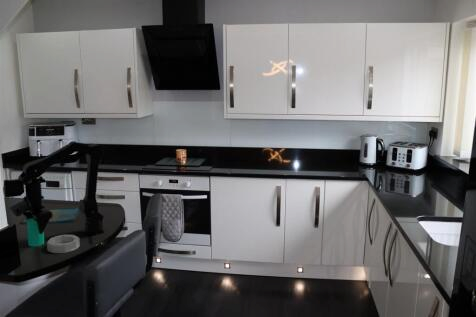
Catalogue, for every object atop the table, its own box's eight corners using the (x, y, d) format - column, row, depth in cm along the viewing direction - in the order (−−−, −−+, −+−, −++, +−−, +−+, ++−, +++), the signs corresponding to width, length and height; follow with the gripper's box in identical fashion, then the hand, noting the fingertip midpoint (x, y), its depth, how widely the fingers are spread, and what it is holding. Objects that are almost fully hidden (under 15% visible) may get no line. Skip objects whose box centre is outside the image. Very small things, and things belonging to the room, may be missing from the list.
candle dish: (70, 238, 168) (70, 232, 167) (85, 246, 160) (85, 239, 160) (41, 246, 159) (41, 239, 158) (56, 255, 151) (55, 248, 151)
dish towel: (75, 223, 188) (74, 218, 188) (20, 225, 182) (20, 220, 182) (80, 211, 204) (79, 207, 204) (30, 213, 199) (30, 209, 198)
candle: (26, 247, 158) (24, 218, 156) (29, 241, 164) (28, 213, 162) (43, 245, 160) (41, 217, 158) (45, 240, 166) (44, 212, 163)
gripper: (2, 193, 158) (5, 230, 161) (22, 203, 146) (24, 242, 149) (31, 188, 166) (33, 223, 169) (52, 197, 155) (54, 235, 157)
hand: (36, 230), depth 161 cm, fingers open, 9 cm apart
